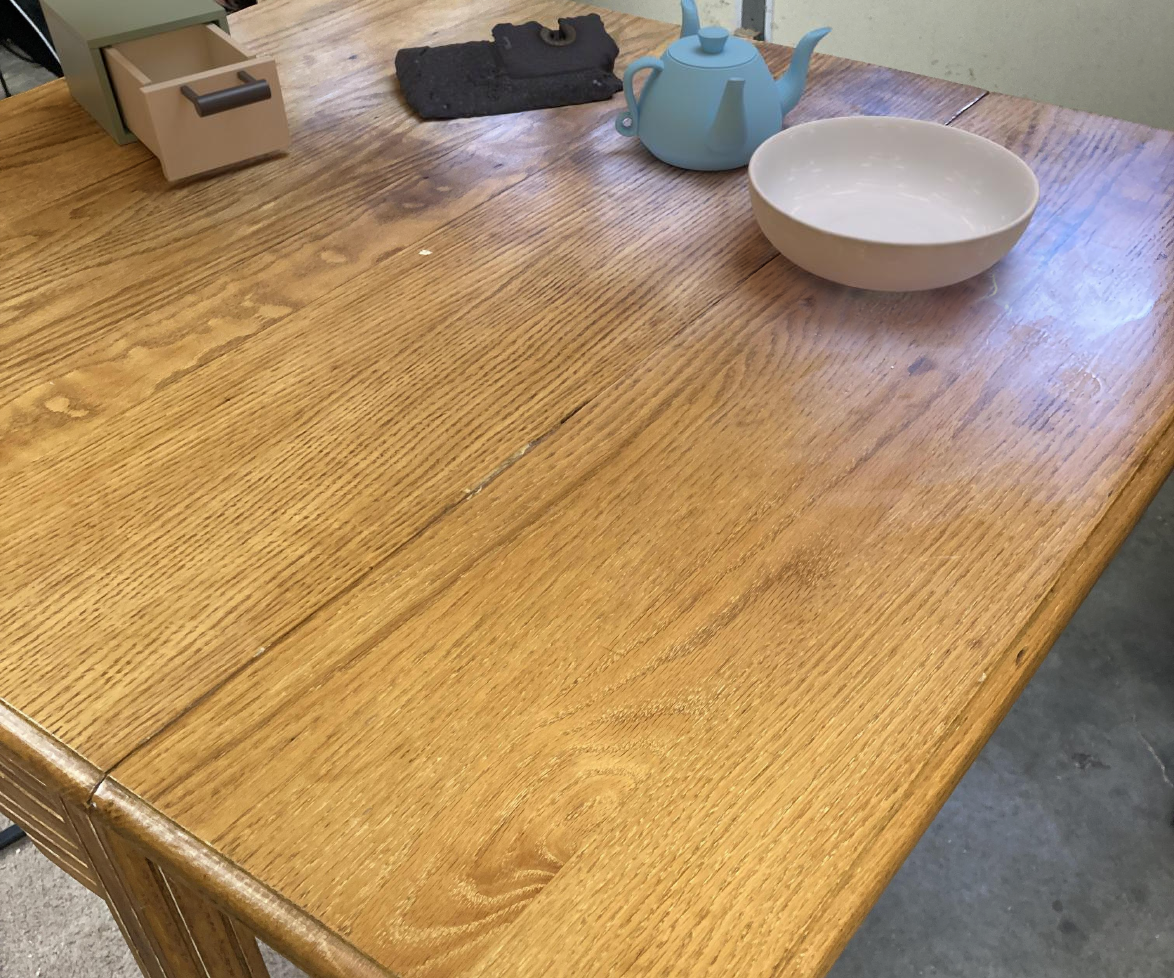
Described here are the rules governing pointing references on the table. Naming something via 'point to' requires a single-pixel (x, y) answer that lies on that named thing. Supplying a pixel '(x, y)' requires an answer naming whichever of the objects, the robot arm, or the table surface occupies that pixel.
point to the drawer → (198, 98)
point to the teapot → (711, 97)
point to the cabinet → (108, 16)
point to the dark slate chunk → (512, 70)
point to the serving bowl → (890, 201)
